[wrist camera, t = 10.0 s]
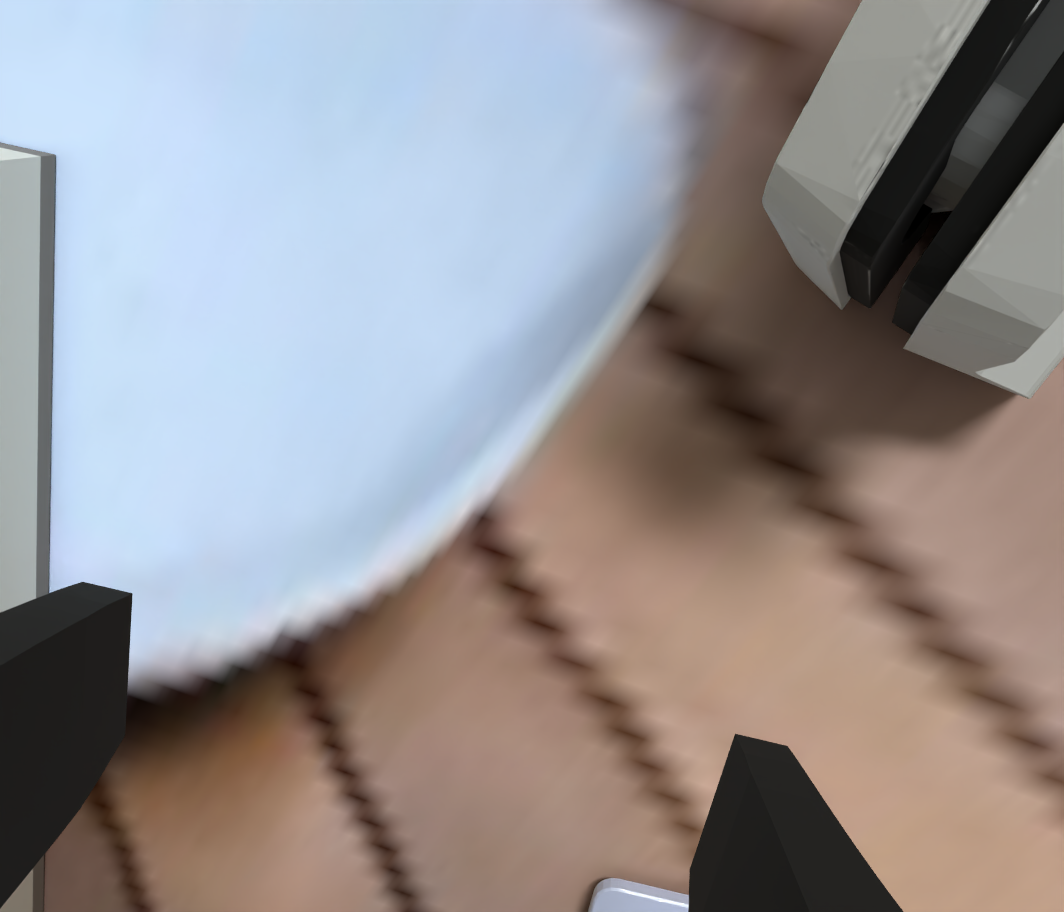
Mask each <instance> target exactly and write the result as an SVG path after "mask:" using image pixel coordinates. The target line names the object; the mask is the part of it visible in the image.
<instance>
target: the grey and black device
mask: <svg viewBox="0 0 1064 912" xmlns="http://www.w3.org/2000/svg"><path fill="white" fill-rule="evenodd" d="M762 204H763V207H764V209H765V210H766V212H767V214H768V216H769V218H770V219H771V221H772V223H773V225H774V227H775V228H776V230H777V232H778V234H779V236H780V237H781V239H782V241H783V243H784V244H785V246H786V248H787V250H788V252H789V253H790V255H791V257H792V259H793V261H794V262H795V264H796V266H797V267H798V268H799V269H800V270H801V271H802V272H803V273H804V274H805V275H806V276H807V277H808V278H809V279H810V280H811V281H812V282H813V283H815V284H816V285H817V286H818V287H819V288H820V289H821V290H822V291H823V292H824V293H825V294H826V295H827V296H828V297H829V298H830V299H831V300H832V301H833V302H834V303H835V304H836V305H837V306H838V307H839V308H840V309H841V310H843V308H844V307H845V305H846V304H847V303H848V301H849V300H850V299H851V297H852V298H853V299H855V300H857V301H858V302H860V303H861V304H863V305H865V306H866V307H868V308H871V307H872V305H873V304H874V303H875V301H876V300H877V298H878V297H879V295H880V294H881V293H882V291H883V290H884V288H885V287H886V285H887V284H888V283H889V281H890V280H891V278H892V277H893V275H894V274H895V273H896V271H897V270H898V268H899V267H900V266H901V264H902V263H903V261H904V260H905V258H906V257H907V256H908V254H909V253H910V251H911V250H912V248H913V247H914V246H915V244H916V243H917V241H918V240H919V238H920V237H921V236H922V234H923V233H924V231H925V230H926V228H927V225H928V221H929V218H930V215H931V213H932V212H943V211H952V213H951V214H950V216H949V217H948V219H947V220H946V221H945V223H944V224H943V226H942V227H941V229H940V230H939V232H938V233H937V234H936V236H935V237H934V239H933V240H932V242H931V243H930V245H929V246H928V248H927V249H926V250H925V252H924V253H923V255H922V256H921V258H920V259H919V261H918V262H917V264H916V265H915V266H914V268H913V269H912V271H911V272H910V274H909V276H908V278H907V280H906V281H905V283H904V285H903V287H902V290H901V293H900V296H899V300H898V303H897V307H896V310H895V314H894V317H893V320H892V323H894V324H895V325H897V326H898V327H900V328H902V329H903V330H905V331H906V332H908V333H909V334H911V337H910V338H909V340H908V341H907V343H906V345H905V346H904V348H903V349H906V350H908V351H911V352H913V353H916V354H918V355H921V356H923V357H926V358H928V359H931V360H933V361H935V362H938V363H940V364H943V365H945V366H948V367H950V368H953V369H955V370H958V371H960V372H963V373H965V374H968V375H970V376H973V377H975V378H978V379H980V380H983V381H985V382H988V383H990V384H993V385H995V386H998V387H1000V388H1002V389H1005V390H1007V391H1010V392H1012V393H1015V394H1017V395H1020V396H1022V397H1025V398H1028V399H1030V398H1031V397H1032V396H1033V395H1034V393H1035V392H1036V391H1037V390H1038V388H1039V387H1040V386H1041V385H1042V383H1043V382H1044V381H1045V380H1046V378H1047V377H1048V376H1049V375H1050V374H1051V372H1052V371H1053V370H1054V369H1055V367H1056V366H1057V365H1058V364H1059V362H1060V361H1061V360H1062V359H1063V357H1064V0H862V2H861V3H860V5H859V7H858V9H857V11H856V13H855V14H854V16H853V18H852V20H851V22H850V24H849V26H848V27H847V29H846V31H845V33H844V35H843V37H842V39H841V40H840V42H839V44H838V46H837V48H836V50H835V51H834V53H833V55H832V57H831V59H830V61H829V63H828V64H827V66H826V68H825V70H824V72H823V74H822V76H821V77H820V79H819V81H818V83H817V85H816V87H815V89H814V90H813V92H812V94H811V96H810V98H809V100H808V102H807V103H806V105H805V107H804V109H803V111H802V113H801V115H800V116H799V118H798V120H797V122H796V124H795V126H794V128H793V129H792V131H791V133H790V135H789V137H788V139H787V141H786V142H785V144H784V146H783V148H782V150H781V152H780V154H779V155H778V157H777V159H776V162H775V164H774V167H773V169H772V171H771V174H770V176H769V179H768V181H767V184H766V187H765V191H764V195H763V198H762Z"/></svg>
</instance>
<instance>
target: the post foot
mask: <svg viewBox="0 0 1064 912" xmlns="http://www.w3.org/2000/svg"><path fill="white" fill-rule="evenodd" d="M54 217H55V155H54V154H49V153H45V152H40V151H36V150H31V149H27V148H22V147H18V146H13V145H8V144H4V143H0V613H1V612H3V611H6V610H8V609H11V608H13V607H16V606H18V605H21V604H23V603H26V602H28V601H31V600H33V599H36V598H38V597H41V596H44V595H46V594H48V590H49V527H50V465H51V403H52V341H53V279H54ZM43 900H44V855H43V856H42V858H41V859H40V860H39V861H38V863H37V864H36V865H35V867H34V868H33V869H32V870H31V871H30V873H29V874H28V875H27V876H26V878H25V879H24V880H23V881H22V883H21V884H20V885H19V886H18V888H17V889H16V890H15V891H14V892H13V894H12V895H11V896H10V897H9V899H8V900H7V901H6V902H5V904H4V905H3V906H2V907H1V909H0V912H43Z"/></svg>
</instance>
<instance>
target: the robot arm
mask: <svg viewBox="0 0 1064 912" xmlns="http://www.w3.org/2000/svg"><path fill="white" fill-rule="evenodd" d="M131 610H132V593H128V592H124V591H120V590H115V589H111V588H107V587H102V586H98V585H94V584H90V583H85V582H81V583H78V584H75V585H72V586H68V587H65V588H63V589H60V590H57V591H54V592H52V593H49V594H46V595H44V596H41V597H38V598H36V599H33V600H31V601H28V602H26V603H23V604H21V605H18V606H16V607H13V608H11V609H8V610H6V611H3V612H1V613H0V909H1V907H2V906H3V905H4V904H5V902H6V901H7V900H8V899H9V897H10V896H11V895H12V894H13V892H14V891H15V890H16V889H17V888H18V886H19V885H20V884H21V883H22V881H23V880H24V879H25V878H26V876H27V875H28V874H29V873H30V871H31V870H32V869H33V868H34V867H35V865H36V864H37V863H38V861H39V860H40V859H41V858H42V856H43V855H44V854H45V853H46V851H47V850H48V849H49V848H50V846H51V845H52V844H53V843H54V841H55V840H56V839H57V838H58V836H59V835H60V834H61V833H62V831H63V830H64V829H65V828H66V826H67V825H68V824H69V822H70V821H71V820H72V819H73V817H74V816H75V815H76V813H77V812H78V811H79V810H80V808H81V806H82V805H83V803H84V802H85V800H86V799H87V797H88V795H89V794H90V792H91V791H92V789H93V787H94V786H95V784H96V783H97V781H98V780H99V778H100V776H101V775H102V773H103V771H104V770H105V768H106V766H107V765H108V763H109V761H110V760H111V758H112V756H113V754H114V753H115V751H116V749H117V748H118V746H119V744H120V743H121V741H122V739H123V738H124V736H125V724H126V705H127V686H128V667H129V648H130V629H131ZM588 912H903V911H902V909H901V908H900V907H899V905H898V904H897V903H896V901H895V900H894V899H893V897H892V896H891V895H890V893H889V892H888V891H887V889H886V888H885V887H884V885H883V884H882V883H881V881H880V880H879V878H878V877H877V876H876V874H875V873H874V872H873V870H872V869H871V867H870V866H869V865H868V863H867V862H866V860H865V859H864V858H863V856H862V855H861V853H860V852H859V850H858V849H857V848H856V846H855V845H854V843H853V842H852V840H851V839H850V838H849V836H848V835H847V833H846V832H845V830H844V829H843V827H842V826H841V824H840V823H839V821H838V820H837V818H836V817H835V816H834V814H833V813H832V811H831V810H830V808H829V807H828V805H827V804H826V802H825V801H824V799H823V798H822V796H821V795H820V793H819V792H818V790H817V789H816V787H815V786H814V784H813V783H812V781H811V780H810V778H809V777H808V775H807V774H806V772H805V771H804V769H803V768H802V766H801V765H800V763H799V762H798V760H797V759H796V757H795V756H794V755H793V753H792V752H791V750H790V749H789V748H788V746H785V745H781V744H776V743H772V742H768V741H763V740H759V739H755V738H751V737H746V736H742V735H738V734H735V736H734V739H733V742H732V745H731V748H730V751H729V754H728V757H727V760H726V763H725V766H724V769H723V772H722V775H721V778H720V781H719V784H718V787H717V790H716V793H715V796H714V799H713V802H712V805H711V808H710V811H709V814H708V817H707V820H706V823H705V826H704V829H703V832H702V835H701V838H700V841H699V844H698V847H697V850H696V853H695V856H694V858H693V861H692V864H691V867H690V880H689V895H686V894H682V893H677V892H673V891H669V890H665V889H661V888H656V887H652V886H648V885H644V884H640V883H635V882H631V881H627V880H623V879H618V878H609V879H605V880H602V881H601V882H599V883H598V884H597V886H596V887H595V889H594V892H593V896H592V899H591V903H590V906H589V909H588Z"/></svg>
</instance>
